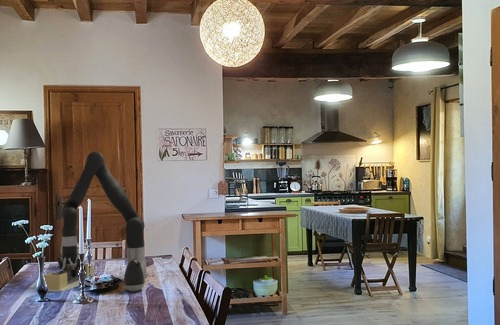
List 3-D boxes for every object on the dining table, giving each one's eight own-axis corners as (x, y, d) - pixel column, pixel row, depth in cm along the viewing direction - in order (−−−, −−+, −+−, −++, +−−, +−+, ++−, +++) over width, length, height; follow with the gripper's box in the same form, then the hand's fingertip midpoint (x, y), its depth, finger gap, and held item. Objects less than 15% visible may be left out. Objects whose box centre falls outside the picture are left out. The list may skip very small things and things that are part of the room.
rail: (86, 274, 265) (86, 265, 265) (60, 284, 244) (60, 274, 244) (78, 274, 266) (78, 265, 266) (52, 283, 245) (52, 273, 245)
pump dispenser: (131, 294, 231) (130, 262, 231) (119, 290, 238) (119, 260, 238) (149, 289, 239) (148, 259, 239) (137, 286, 246) (136, 256, 246)
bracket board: (96, 278, 268) (96, 263, 268) (61, 291, 239) (61, 275, 239) (77, 277, 271) (77, 263, 271) (41, 290, 242) (40, 274, 242)
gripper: (85, 243, 257) (86, 275, 257) (62, 243, 261) (62, 274, 261) (76, 246, 250) (77, 279, 250) (53, 245, 254) (53, 277, 253)
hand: (69, 276), depth 255 cm, fingers closed on rail, 5 cm apart
